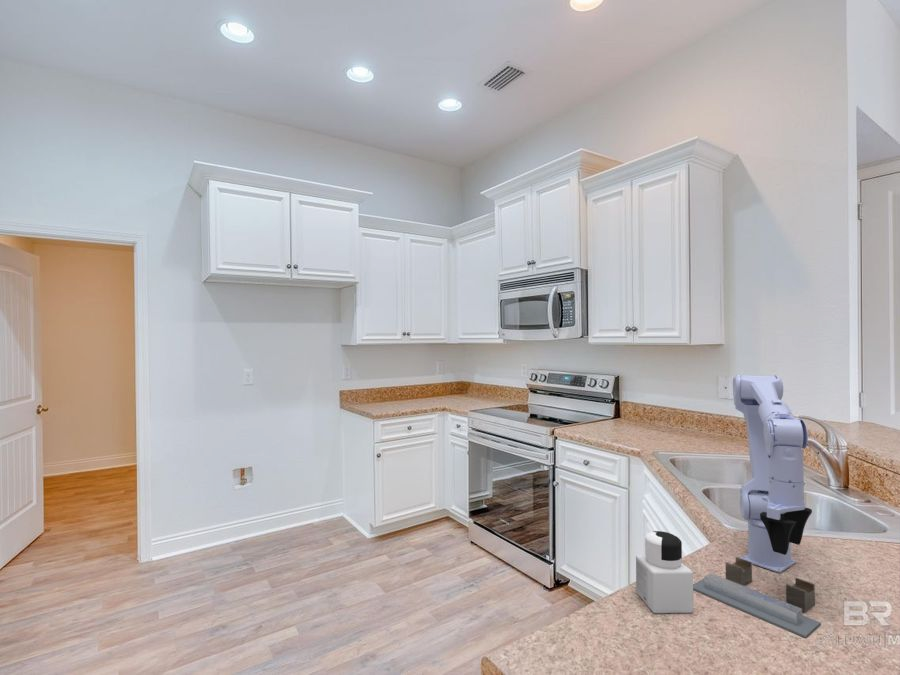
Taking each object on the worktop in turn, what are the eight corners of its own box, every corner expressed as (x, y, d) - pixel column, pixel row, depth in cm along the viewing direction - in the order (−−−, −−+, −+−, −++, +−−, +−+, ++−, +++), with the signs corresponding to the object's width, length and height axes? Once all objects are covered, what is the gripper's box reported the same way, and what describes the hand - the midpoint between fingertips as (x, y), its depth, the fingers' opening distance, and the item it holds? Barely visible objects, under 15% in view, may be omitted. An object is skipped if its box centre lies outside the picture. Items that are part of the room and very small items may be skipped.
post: (796, 598, 91) (796, 577, 92) (814, 604, 89) (814, 584, 89) (786, 605, 89) (786, 584, 89) (805, 613, 86) (804, 591, 86)
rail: (710, 583, 96) (710, 573, 96) (802, 621, 83) (801, 608, 83) (704, 587, 95) (704, 576, 95) (796, 625, 82) (796, 613, 82)
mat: (706, 578, 99) (706, 576, 99) (820, 624, 83) (820, 622, 83) (689, 588, 95) (689, 586, 95) (805, 638, 79) (805, 636, 79)
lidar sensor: (672, 591, 94) (672, 527, 94) (694, 613, 86) (693, 543, 86) (635, 592, 93) (634, 527, 94) (653, 614, 86) (652, 543, 86)
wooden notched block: (736, 575, 100) (736, 557, 101) (752, 581, 98) (751, 562, 98) (725, 581, 98) (725, 562, 98) (741, 588, 95) (740, 568, 95)
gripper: (775, 469, 100) (776, 532, 99) (748, 480, 91) (749, 550, 90) (815, 476, 94) (817, 543, 94) (791, 489, 85) (792, 563, 85)
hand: (786, 547), depth 92 cm, fingers open, 7 cm apart
